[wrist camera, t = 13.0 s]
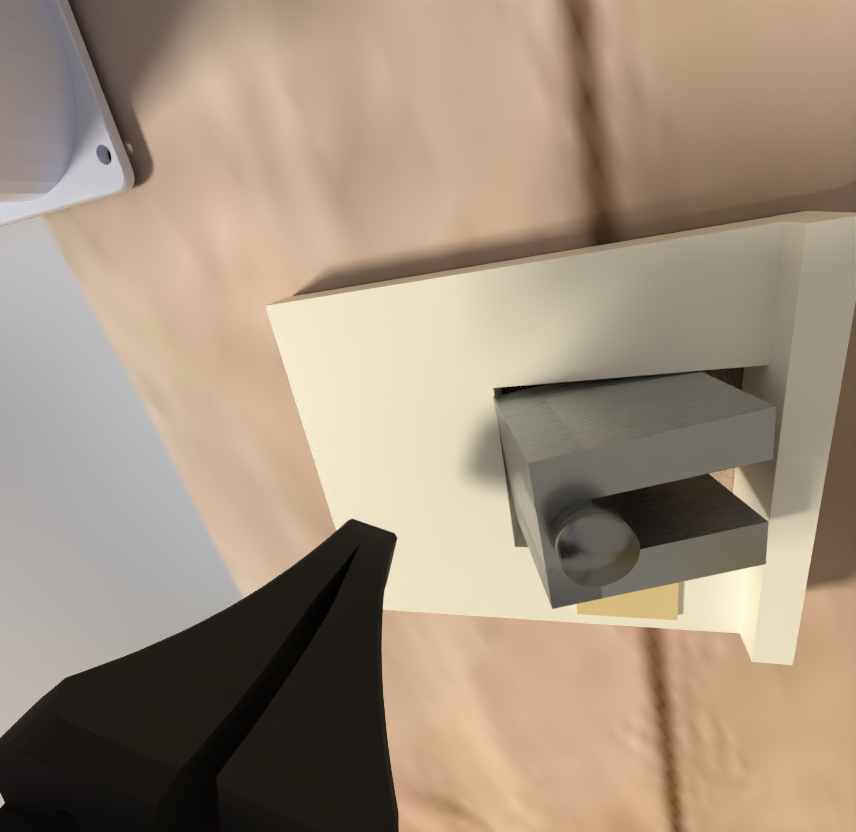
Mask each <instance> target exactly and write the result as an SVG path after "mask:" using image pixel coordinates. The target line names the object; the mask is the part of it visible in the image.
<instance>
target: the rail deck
mask: <svg viewBox="0 0 856 832" xmlns="http://www.w3.org/2000/svg"><path fill="white" fill-rule="evenodd" d="M855 303H856V213H851V212H825V211H802V212H796V213H790V214H784V215H778V216H772V217H766V218H760V219H754V220H748V221H742V222H736V223H730V224H724V225H718V226H712V227H706V228H700V229H694V230H688V231H682V232H676V233H670V234H664V235H658V236H652V237H646V238H640V239H634V240H628V241H622V242H616V243H610V244H604V245H598V246H592V247H586V248H580V249H573V250H567V251H561V252H555V253H549V254H543V255H537V256H531V257H525V258H519V259H513V260H507V261H501V262H495V263H489V264H483V265H477V266H471V267H465V268H459V269H453V270H447V271H441V272H435V273H429V274H423V275H417V276H411V277H405V278H399V279H393V280H387V281H381V282H375V283H369V284H363V285H357V286H351V287H345V288H339V289H333V290H327V291H321V292H315V293H309V294H303V295H297V296H291V297H288V298H285V299H283V300H280V301H277V302H274V303H272V304H269V305H266V309H267V313H268V316H269V319H270V322H271V325H272V328H273V332H274V335H275V338H276V341H277V344H278V347H279V351H280V354H281V357H282V360H283V363H284V366H285V370H286V373H287V376H288V379H289V382H290V385H291V389H292V392H293V395H294V398H295V401H296V404H297V408H298V411H299V414H300V417H301V420H302V423H303V427H304V430H305V433H306V436H307V439H308V442H309V446H310V449H311V452H312V455H313V458H314V462H315V465H316V468H317V471H318V474H319V477H320V481H321V484H322V487H323V490H324V493H325V496H326V500H327V503H328V506H329V509H330V512H331V515H332V519H333V522H334V525H335V528H336V531H337V530H338V529H339V528H340V527H341V526H342V525H343V524H345V523H346V522H347V521H348V520H350V519H355V520H358V521H361V522H364V523H367V524H369V525H372V526H375V527H378V528H381V529H384V530H387V531H390V532H393V533H395V535H396V536H397V542H396V546H395V550H394V555H393V559H392V563H391V567H390V571H389V576H388V580H387V584H386V587H385V590H384V599H383V610H396V611H411V612H426V613H441V614H456V615H471V616H486V617H501V618H517V619H532V620H547V621H562V622H577V623H592V624H607V625H622V626H638V627H653V628H668V629H683V630H698V631H713V632H728V633H740V635H741V637H742V640H743V642H744V644H745V647H746V649H747V651H748V654H749V656H750V658H751V661H752V662H762V663H774V664H786V665H793V660H794V654H795V648H796V643H797V637H798V631H799V625H800V620H801V614H802V608H803V602H804V597H805V591H806V585H807V579H808V574H809V568H810V562H811V556H812V551H813V545H814V539H815V533H816V528H817V522H818V516H819V510H820V505H821V499H822V493H823V487H824V482H825V476H826V470H827V464H828V459H829V453H830V447H831V441H832V436H833V430H834V424H835V418H836V413H837V407H838V401H839V395H840V390H841V384H842V378H843V372H844V367H845V361H846V355H847V349H848V344H849V338H850V332H851V326H852V321H853V315H854V309H855ZM738 367H744V372H743V383H742V391H744V392H746V393H748V394H750V395H752V396H754V397H757V398H759V399H761V400H763V401H765V402H767V403H769V404H771V405H774V406H776V420H775V435H774V450H773V459H772V460H767V461H763V462H758V463H753V464H749V465H744V466H740V467H735V476H734V488H733V494H734V495H736V496H737V497H738V498H739V499H741V500H742V501H743V502H744V503H746V504H747V505H748V506H749V507H751V508H752V509H753V510H754V511H756V512H757V513H758V514H759V515H761V516H762V517H763V518H764V519H766V520H767V521H768V522H769V524H768V539H767V554H766V564H764V565H759V566H754V567H749V568H745V569H740V570H735V571H730V572H726V573H721V574H716V575H711V576H707V577H702V578H697V579H693V580H688V581H683V582H678V583H674V584H669V585H664V586H659V587H655V588H650V589H645V590H640V591H636V592H631V593H626V594H621V595H617V596H612V597H607V598H602V599H598V600H593V601H588V602H583V603H579V604H574V605H569V606H564V607H560V608H555V609H552V607H551V604H550V602H549V599H548V597H547V594H546V591H545V589H544V586H543V584H542V581H541V579H540V576H539V573H538V571H537V568H536V566H535V563H534V561H533V558H532V556H531V553H530V550H529V548H528V545H527V543H526V540H525V538H524V535H523V532H522V530H521V527H520V525H519V522H518V520H517V517H516V514H515V511H514V506H513V501H512V495H511V490H510V485H509V480H508V474H507V469H506V464H505V458H504V453H503V448H502V442H501V437H500V432H499V426H498V421H497V416H496V410H495V405H494V400H493V397H494V396H498V395H502V389H501V387H512V386H524V385H535V384H547V383H559V382H571V381H583V380H595V379H607V378H619V377H631V376H642V375H654V374H666V373H678V372H690V371H702V370H714V369H726V368H738Z"/></svg>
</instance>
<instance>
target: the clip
mask: <svg viewBox="0 0 856 832" xmlns="http://www.w3.org/2000/svg"><path fill="white" fill-rule="evenodd" d="M493 400H494V405H495V410H496V416H497V421H498V426H499V432H500V437H501V442H502V448H503V453H504V458H505V464H506V469H507V474H508V480H509V485H510V490H511V495H512V501H513V506H514V511H515V514H516V517H517V520H518V522H519V525H520V527H521V530H522V532H523V535H524V538H525V540H526V543H527V545H528V548H529V550H530V553H531V556H532V558H533V561H534V563H535V566H536V568H537V571H538V573H539V576H540V579H541V581H542V584H543V586H544V589H545V591H546V594H547V597H548V599H549V602H550V604H551V607H552V609H555V608H560V607H564V606H569V605H574V604H579V603H583V602H588V601H593V600H598V599H602V598H607V597H612V596H617V595H621V594H626V593H631V592H636V591H640V590H645V589H650V588H655V587H659V586H664V585H669V584H674V583H678V582H683V581H688V580H693V579H697V578H702V577H707V576H711V575H716V574H721V573H726V572H730V571H735V570H740V569H745V568H749V567H754V566H759V565H764V564H766V554H767V539H768V524H769V522H768V521H767V520H766V519H764V518H763V517H762V516H761V515H759V514H758V513H757V512H756V511H754V510H753V509H752V508H751V507H749V506H748V505H747V504H746V503H744V502H743V501H742V500H741V499H739V498H738V497H737V496H736V495H734V494H733V493H732V492H731V491H729V490H728V489H727V488H726V487H724V486H723V485H722V484H721V483H719V482H718V481H717V480H716V479H714V478H713V477H712V476H711V475H709V474H708V473H713V472H717V471H722V470H726V469H731V468H735V467H740V466H744V465H749V464H753V463H758V462H763V461H767V460H772V459H773V450H774V435H775V420H776V406H774V405H771V404H769V403H767V402H765V401H763V400H761V399H759V398H757V397H754V396H752V395H750V394H748V393H746V392H744V391H742V390H740V389H738V388H735V387H733V386H731V385H729V384H727V383H725V382H723V381H721V380H718V379H716V378H714V377H712V376H710V375H708V374H706V373H704V372H701V371H690V372H678V373H666V374H654V375H642V376H631V377H619V378H607V379H595V380H583V381H571V382H559V383H550V384H545V385H541V386H537V387H532V388H528V389H524V390H519V391H515V392H511V393H506V394H502V395H498V396H494V397H493Z"/></svg>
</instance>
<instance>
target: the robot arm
mask: <svg viewBox="0 0 856 832" xmlns="http://www.w3.org/2000/svg"><path fill="white" fill-rule="evenodd" d="M108 150H109V151H110V153H111V161H110V160H109V158H108ZM133 185H134V173H133V169H132V167H131V164H130V162H129V159H128V156H127V154H126V151H125V148H124V146H123V143H122V141H121V138H120V135H119V133H118V130H117V128H116V125H115V122H114V120H113V117H112V114H111V112H110V109H109V107H108V104H107V101H106V99H105V96H104V94H103V91H102V88H101V86H100V83H99V80H98V78H97V75H96V73H95V70H94V67H93V65H92V62H91V60H90V57H89V54H88V52H87V49H86V46H85V44H84V41H83V39H82V36H81V33H80V31H79V28H78V26H77V23H76V20H75V18H74V15H73V13H72V10H71V7H70V5H69V2H68V0H0V227H2V226H6V225H9V224H12V223H16V222H20V221H23V220H27V219H31V218H34V217H38V216H41V215H45V214H48V213H52V212H56V211H59V210H63V209H66V208H70V207H73V206H77V205H81V204H84V203H88V202H91V201H95V200H98V199H102V198H105V197H109V196H113V195H116V194H120V193H123V192H127V191H129V190H130V189H132V187H133ZM396 542H397V536H396V535H395V533H393V532H390V531H387V530H384V529H381V528H378V527H375V526H372V525H369V524H367V523H364V522H361V521H358V520H355V519H350V520H348V521H347V522H346V523H345V524H343V525H342V526H341V527H340V528H339V529H338V530H337V531H336V532H335V533H333V534H332V535H331V536H330V537H329V538H328V539H326V540H325V541H324V542H323V543H322V544H320V545H319V546H318V547H317V548H316V549H314V550H313V551H312V552H310V553H309V554H308V555H306V556H305V557H304V558H303V559H301V560H300V561H299V562H297V563H296V564H295V565H293V566H292V567H291V568H289V569H288V570H286V571H285V572H284V573H282V574H281V575H279V576H278V577H276V578H275V579H273V580H272V581H270V582H269V583H267V584H266V585H265V586H263V587H261V588H260V589H258V590H257V591H255V592H254V593H252V594H250V595H249V596H247V597H245V598H244V599H242V600H240V601H239V602H237V603H236V604H234V605H232V606H230V607H228V608H227V609H225V610H223V611H221V612H219V613H217V614H215V615H214V616H212V617H210V618H208V619H206V620H204V621H202V622H200V623H198V624H196V625H194V626H192V627H190V628H188V629H186V630H184V631H182V632H180V633H178V634H175V635H173V636H171V637H169V638H166V639H164V640H162V641H160V642H157V643H155V644H153V645H151V646H148V647H146V648H144V649H141V650H139V651H137V652H134V653H132V654H129V655H127V656H124V657H122V658H119V659H116V660H114V661H111V662H108V663H105V664H103V665H100V666H97V667H94V668H92V669H89V670H86V671H84V672H81V673H78V674H75V675H72V676H70V677H67V678H65V679H64V680H62V681H61V682H60V683H59V684H58V685H57V686H56V687H54V688H53V689H52V690H51V691H49V692H48V693H47V694H46V695H45V696H43V697H42V698H41V699H40V700H39V701H38V702H37V703H36V704H35V705H33V706H32V708H31V709H29V710H28V711H27V712H26V713H25V714H24V715H23V716H22V717H21V718H20V719H19V720H18V721H17V722H16V723H15V724H14V725H13V726H12V727H11V728H10V729H9V730H8V731H7V732H6V733H5V734H4V735H3V736H2V737H1V738H0V793H1V795H2V797H3V799H4V801H5V804H4V805H3V806H2V807H1V808H0V832H399V829H398V808H397V802H396V796H395V790H394V784H393V777H392V771H391V764H390V756H389V749H388V741H387V732H386V721H385V710H384V699H383V683H382V655H381V639H382V612H383V599H384V590H385V587H386V584H387V580H388V576H389V571H390V567H391V563H392V559H393V555H394V550H395V546H396Z"/></svg>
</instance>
